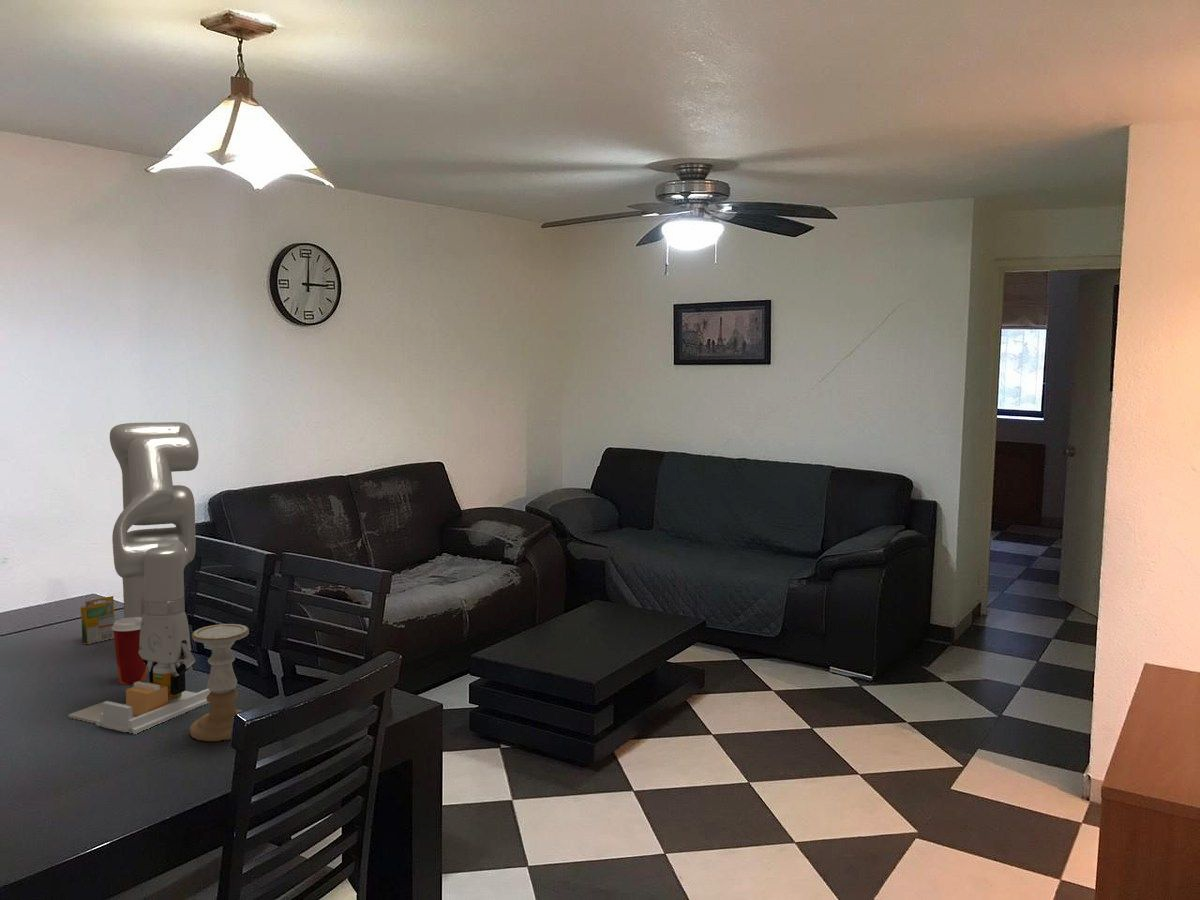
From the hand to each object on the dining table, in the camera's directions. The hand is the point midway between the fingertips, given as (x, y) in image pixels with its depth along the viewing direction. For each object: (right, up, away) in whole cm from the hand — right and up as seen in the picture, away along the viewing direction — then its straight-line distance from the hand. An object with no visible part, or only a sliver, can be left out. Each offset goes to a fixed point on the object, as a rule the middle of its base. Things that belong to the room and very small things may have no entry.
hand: (167, 689), depth 193 cm
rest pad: (-12, -4, -3) cm, 13 cm away
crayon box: (-40, 0, +47) cm, 62 cm away
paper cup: (-16, -3, +18) cm, 24 cm away
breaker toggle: (-2, -3, -5) cm, 6 cm away
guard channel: (-1, -4, -2) cm, 5 cm away
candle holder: (+16, -5, -10) cm, 20 cm away
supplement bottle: (0, -2, 0) cm, 2 cm away
